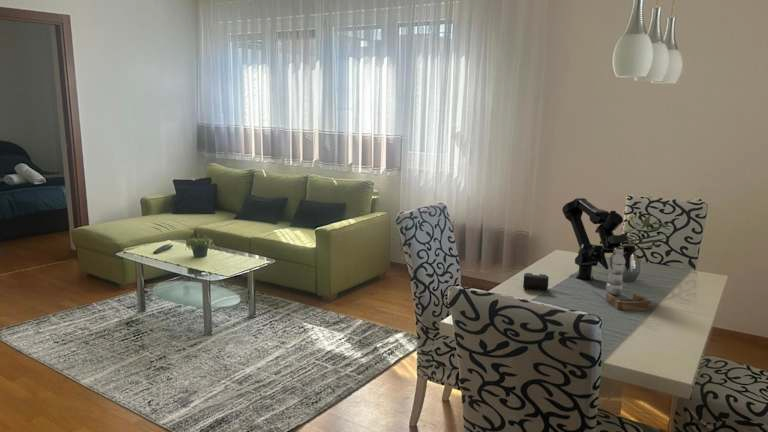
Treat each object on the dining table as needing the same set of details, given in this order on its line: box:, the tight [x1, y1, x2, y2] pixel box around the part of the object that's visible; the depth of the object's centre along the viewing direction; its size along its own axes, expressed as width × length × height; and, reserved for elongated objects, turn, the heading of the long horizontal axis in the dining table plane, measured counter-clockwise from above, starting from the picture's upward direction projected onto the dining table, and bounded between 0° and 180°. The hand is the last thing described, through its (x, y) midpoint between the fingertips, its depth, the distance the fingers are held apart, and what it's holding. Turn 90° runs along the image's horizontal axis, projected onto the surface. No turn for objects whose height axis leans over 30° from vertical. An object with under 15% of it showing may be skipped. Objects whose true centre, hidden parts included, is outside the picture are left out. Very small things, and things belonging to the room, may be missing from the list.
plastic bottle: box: [605, 246, 626, 295], centre depth 239 cm, size 6×7×20 cm
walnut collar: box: [605, 292, 653, 311], centre depth 230 cm, size 10×13×3 cm
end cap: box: [522, 272, 550, 292], centre depth 245 cm, size 10×7×7 cm
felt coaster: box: [592, 289, 633, 302], centre depth 241 cm, size 12×12×1 cm
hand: (617, 269), depth 238 cm, fingers open, 9 cm apart
